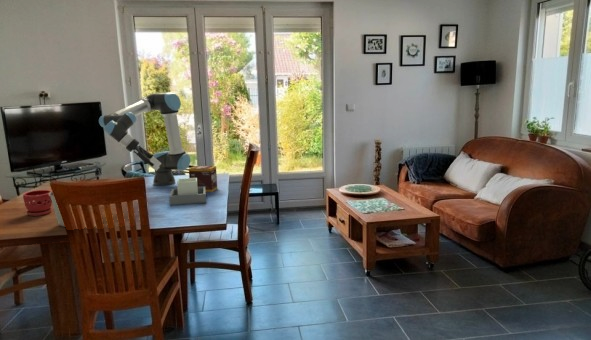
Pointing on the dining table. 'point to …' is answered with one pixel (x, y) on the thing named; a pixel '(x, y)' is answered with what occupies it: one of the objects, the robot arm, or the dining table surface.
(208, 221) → the dining table surface
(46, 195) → the plant pot
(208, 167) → the supplement box
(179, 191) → the small crate
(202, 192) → the large crate
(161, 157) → the robot arm
